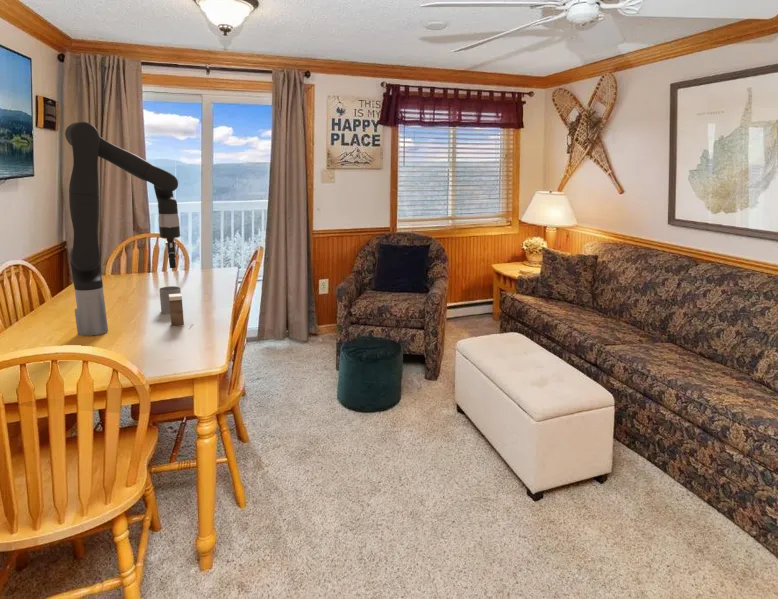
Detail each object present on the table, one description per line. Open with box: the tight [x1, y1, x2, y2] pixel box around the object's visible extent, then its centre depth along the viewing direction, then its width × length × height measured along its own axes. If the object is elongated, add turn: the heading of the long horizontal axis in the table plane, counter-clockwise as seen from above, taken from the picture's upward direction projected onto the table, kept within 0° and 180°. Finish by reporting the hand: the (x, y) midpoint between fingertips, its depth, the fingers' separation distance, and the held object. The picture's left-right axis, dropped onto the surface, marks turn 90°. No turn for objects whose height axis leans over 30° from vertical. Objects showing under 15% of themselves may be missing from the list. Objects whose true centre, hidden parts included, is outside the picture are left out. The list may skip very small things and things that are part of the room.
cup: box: [159, 285, 182, 314], centre depth 231 cm, size 8×8×10 cm
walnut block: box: [169, 293, 185, 327], centre depth 212 cm, size 4×4×12 cm
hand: (172, 266), depth 216 cm, fingers open, 7 cm apart
